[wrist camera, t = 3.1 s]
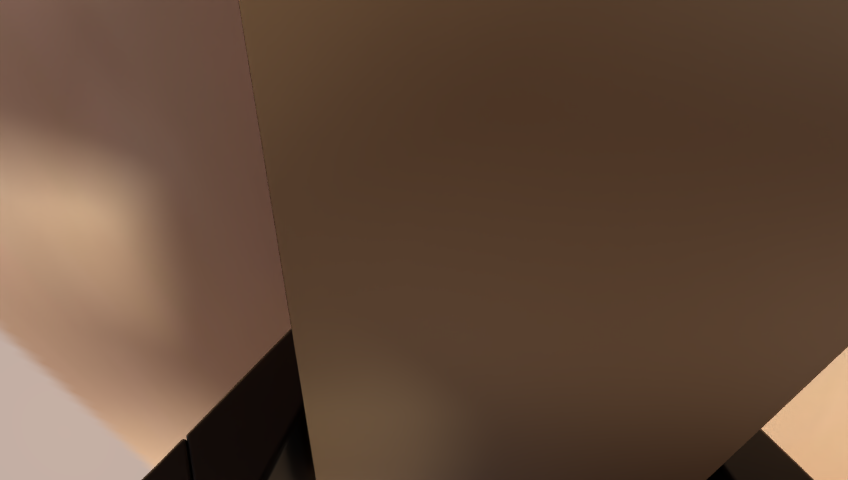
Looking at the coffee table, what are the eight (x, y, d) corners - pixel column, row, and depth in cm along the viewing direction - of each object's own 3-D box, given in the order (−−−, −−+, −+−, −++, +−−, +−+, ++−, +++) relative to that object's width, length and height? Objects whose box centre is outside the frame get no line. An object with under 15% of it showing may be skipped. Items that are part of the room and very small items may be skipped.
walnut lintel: (520, 459, 13) (538, 638, 10) (367, 443, 13) (338, 617, 10) (822, -210, 4) (1615, -379, 1) (366, -254, 5) (154, -524, 1)
